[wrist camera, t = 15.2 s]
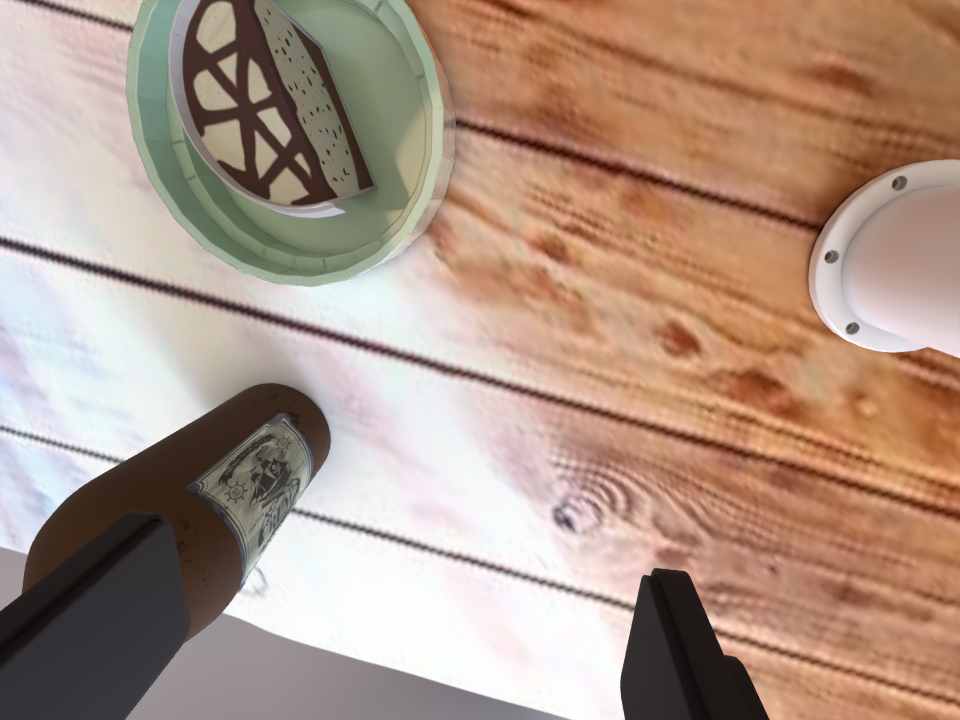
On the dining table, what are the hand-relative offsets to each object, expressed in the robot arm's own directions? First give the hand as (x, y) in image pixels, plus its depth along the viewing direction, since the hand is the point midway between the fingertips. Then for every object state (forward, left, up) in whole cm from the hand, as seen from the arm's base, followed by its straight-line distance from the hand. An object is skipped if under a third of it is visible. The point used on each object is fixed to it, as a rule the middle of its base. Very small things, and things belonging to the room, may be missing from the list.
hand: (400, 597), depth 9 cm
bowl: (+13, -11, -28) cm, 33 cm away
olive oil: (+18, +13, -28) cm, 36 cm away
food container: (+13, -11, -28) cm, 33 cm away
